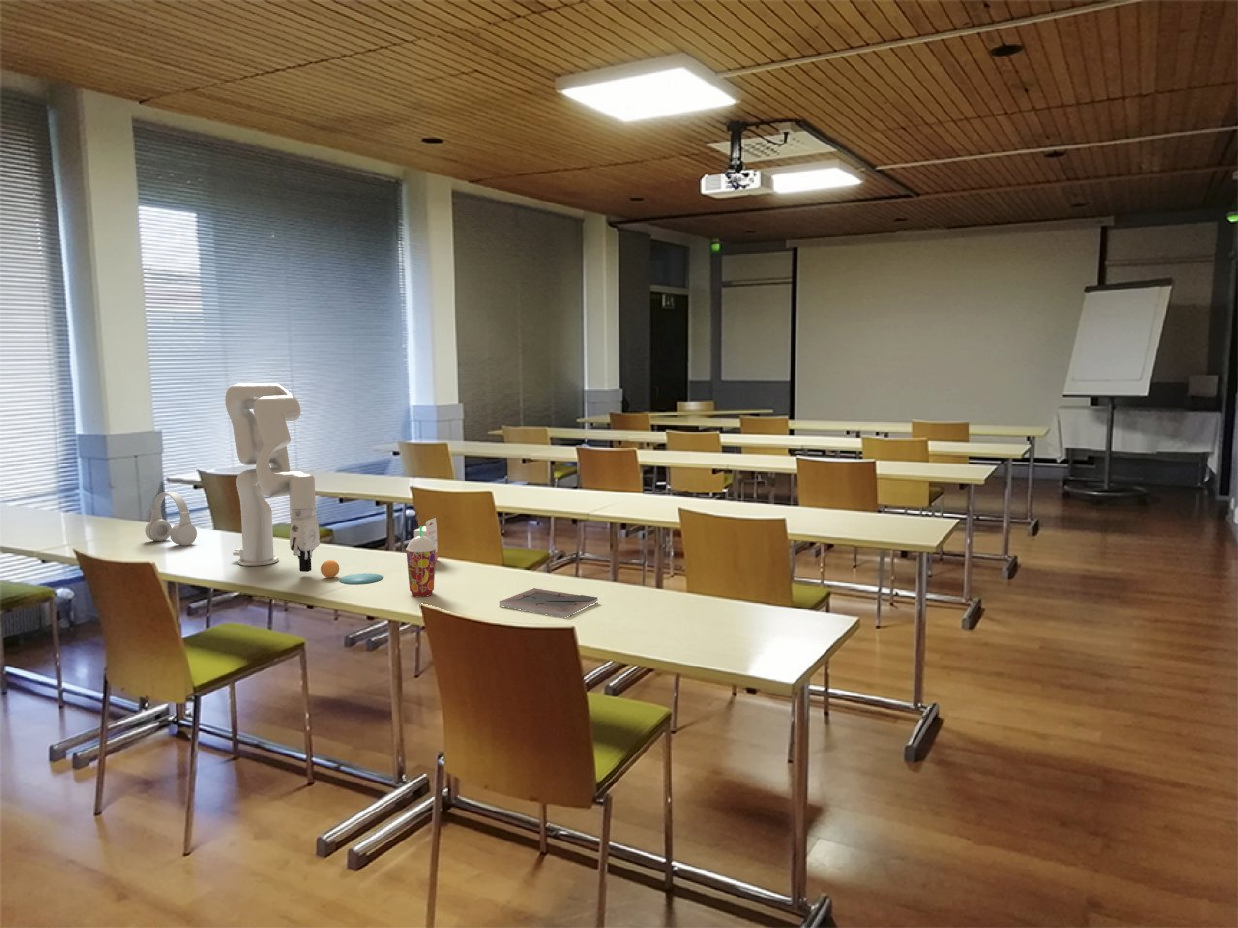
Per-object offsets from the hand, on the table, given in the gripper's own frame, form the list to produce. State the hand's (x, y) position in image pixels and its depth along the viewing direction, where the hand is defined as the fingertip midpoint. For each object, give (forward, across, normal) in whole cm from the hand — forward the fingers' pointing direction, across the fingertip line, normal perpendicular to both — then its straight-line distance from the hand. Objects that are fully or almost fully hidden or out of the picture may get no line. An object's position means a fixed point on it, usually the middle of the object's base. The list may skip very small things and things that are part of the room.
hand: (305, 570), depth 266 cm
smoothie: (+2, -13, -45) cm, 47 cm away
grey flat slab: (+3, -16, -84) cm, 86 cm away
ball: (-1, 0, -9) cm, 9 cm away
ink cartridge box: (+2, +26, -29) cm, 39 cm away
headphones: (+2, +36, +77) cm, 85 cm away
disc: (+2, 0, -19) cm, 19 cm away
